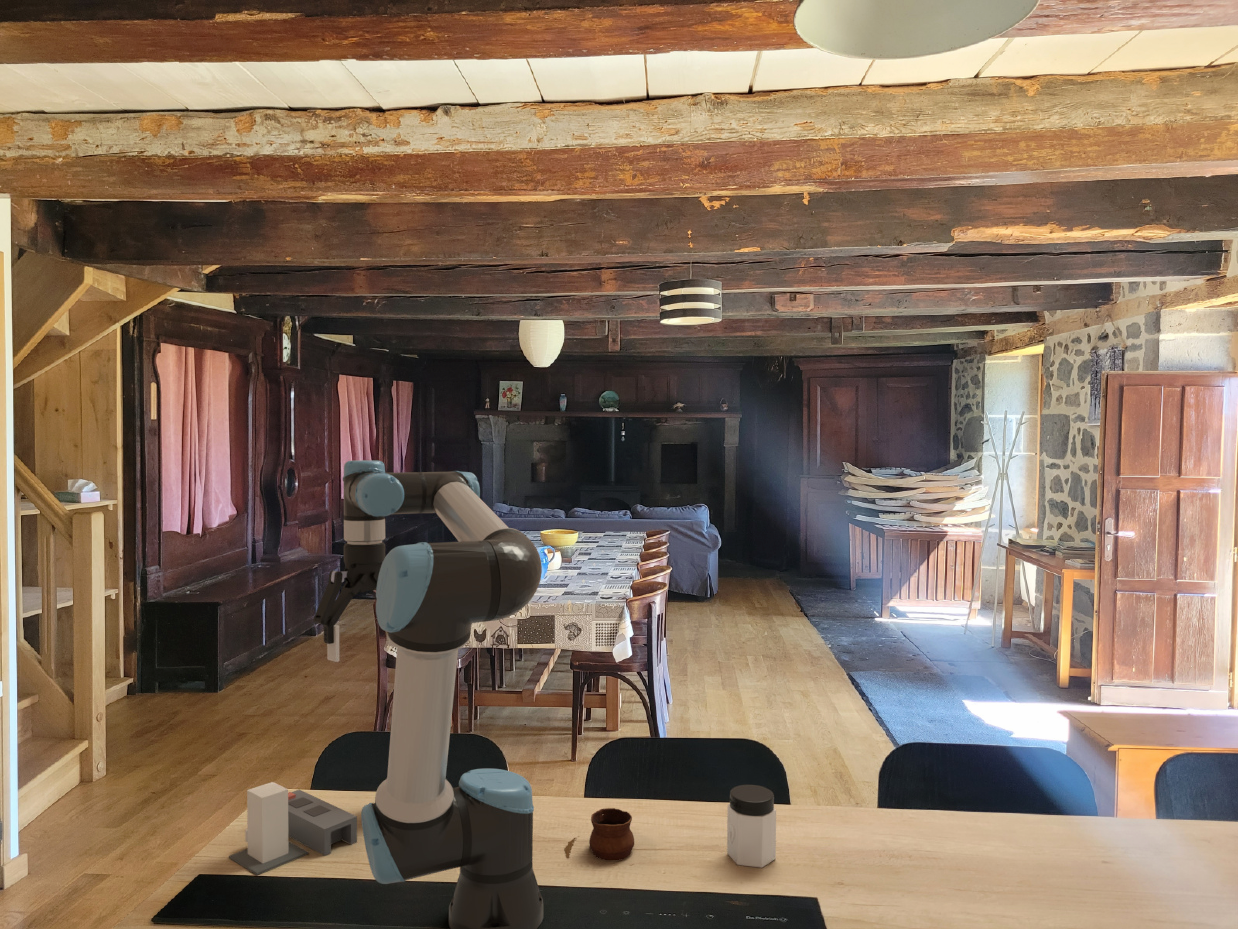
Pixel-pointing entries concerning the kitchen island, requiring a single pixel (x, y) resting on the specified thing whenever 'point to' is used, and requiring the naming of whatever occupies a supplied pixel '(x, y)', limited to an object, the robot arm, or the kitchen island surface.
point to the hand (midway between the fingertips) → (364, 653)
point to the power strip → (319, 822)
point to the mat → (260, 867)
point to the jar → (751, 826)
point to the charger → (267, 822)
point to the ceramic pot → (609, 835)
